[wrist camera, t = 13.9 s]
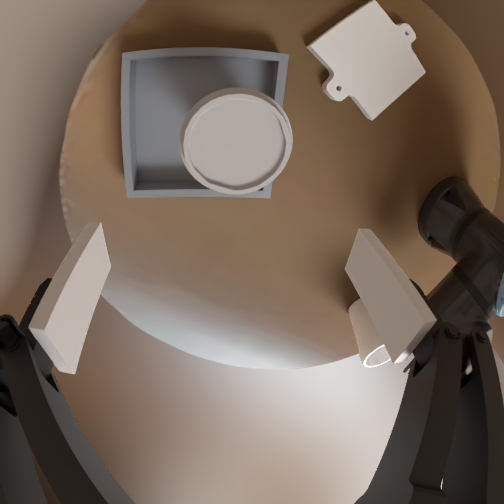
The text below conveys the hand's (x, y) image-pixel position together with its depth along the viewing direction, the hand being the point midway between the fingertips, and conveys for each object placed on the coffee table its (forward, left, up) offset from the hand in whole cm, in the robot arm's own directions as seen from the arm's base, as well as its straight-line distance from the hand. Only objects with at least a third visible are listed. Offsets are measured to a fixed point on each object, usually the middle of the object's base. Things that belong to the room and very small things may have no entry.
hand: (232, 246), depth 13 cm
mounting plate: (-19, -15, -24) cm, 33 cm away
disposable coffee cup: (-1, -2, -23) cm, 23 cm away
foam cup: (-32, +33, -23) cm, 51 cm away
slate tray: (+2, -3, -23) cm, 23 cm away
